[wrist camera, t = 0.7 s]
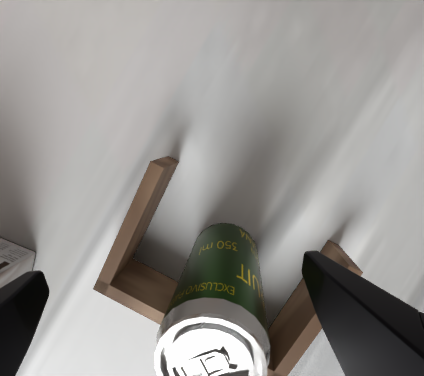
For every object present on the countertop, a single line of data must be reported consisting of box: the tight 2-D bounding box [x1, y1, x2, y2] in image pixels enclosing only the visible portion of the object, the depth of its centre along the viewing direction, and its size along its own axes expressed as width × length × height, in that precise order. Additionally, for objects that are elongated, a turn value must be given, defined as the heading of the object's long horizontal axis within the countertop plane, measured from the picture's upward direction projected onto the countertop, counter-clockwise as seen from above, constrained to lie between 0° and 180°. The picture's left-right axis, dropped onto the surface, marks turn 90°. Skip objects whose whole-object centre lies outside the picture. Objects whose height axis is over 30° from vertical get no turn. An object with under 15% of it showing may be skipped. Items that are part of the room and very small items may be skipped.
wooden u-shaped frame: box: [93, 156, 363, 376], centre depth 21 cm, size 16×11×4 cm
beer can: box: [155, 223, 271, 376], centre depth 17 cm, size 5×5×12 cm
